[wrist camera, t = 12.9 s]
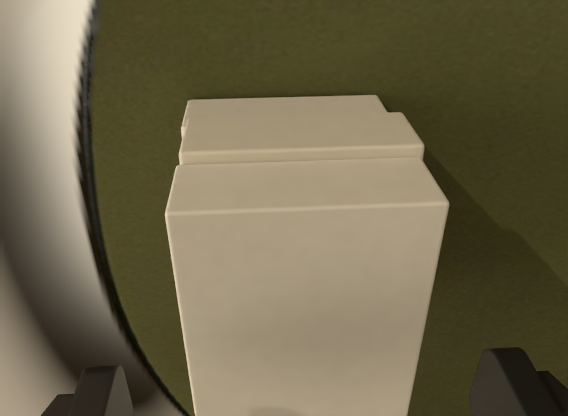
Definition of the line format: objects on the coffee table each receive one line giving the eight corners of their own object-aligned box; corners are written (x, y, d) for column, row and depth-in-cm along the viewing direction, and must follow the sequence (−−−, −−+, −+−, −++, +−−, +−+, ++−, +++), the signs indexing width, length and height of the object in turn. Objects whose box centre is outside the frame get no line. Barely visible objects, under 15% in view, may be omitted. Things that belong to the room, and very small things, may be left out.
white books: (186, 89, 16) (169, 153, 12) (384, 84, 16) (426, 145, 13) (208, 292, 20) (200, 384, 17) (363, 285, 21) (389, 373, 17)
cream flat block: (175, 163, 12) (163, 213, 11) (421, 155, 13) (451, 202, 11) (203, 383, 17) (199, 446, 15) (387, 373, 17) (404, 433, 15)
